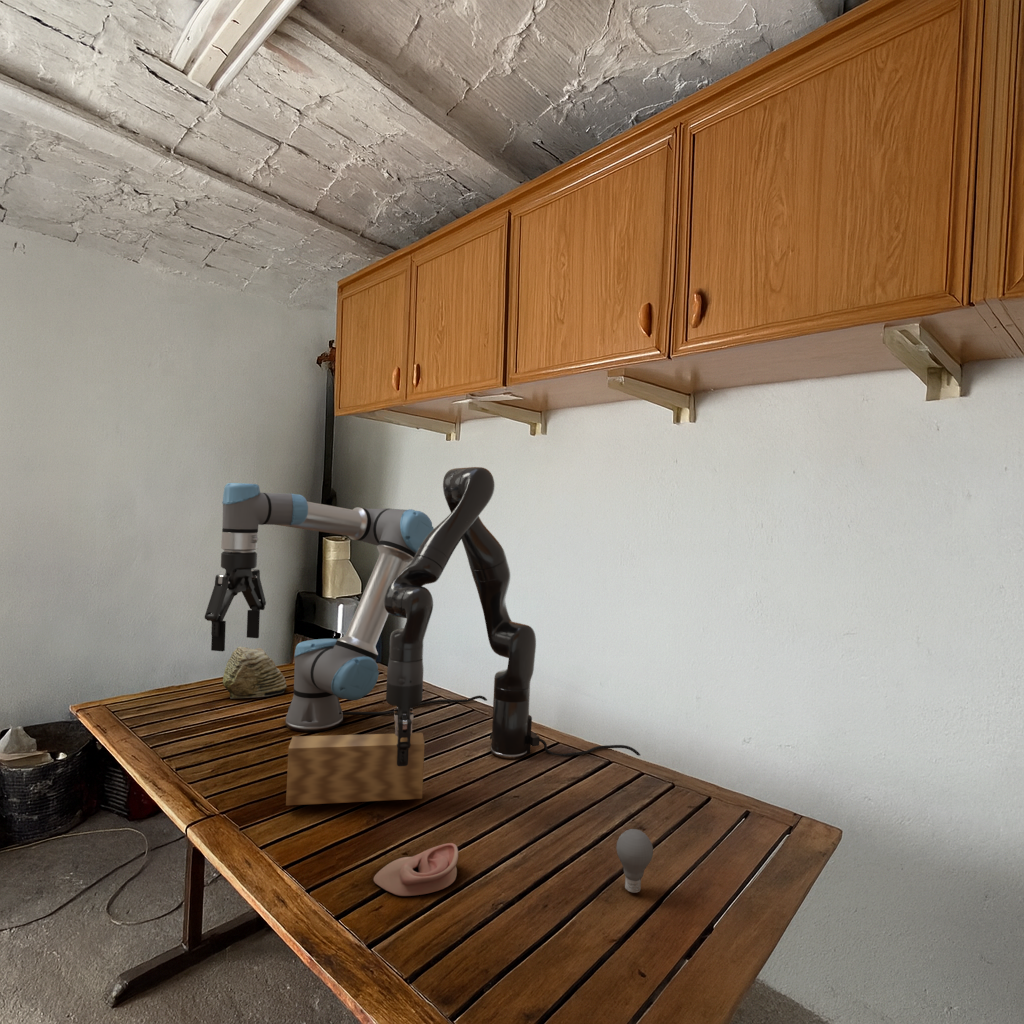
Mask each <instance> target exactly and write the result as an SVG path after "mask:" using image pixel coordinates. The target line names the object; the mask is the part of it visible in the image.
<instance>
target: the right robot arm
mask: <svg viewBox="0 0 1024 1024" xmlns="http://www.w3.org/2000/svg"><path fill="white" fill-rule="evenodd" d="M495 485H496V483H495V479H494V476H493V474H492V472H491V471H490V470H488V469H487V468H486V467H481V466H471V467H456V468H451V469H449V470H448V471H447V472H446V473H445V474H444V476H443V480H442V489H443V495H444V499H445V501H446V504H447V506H448V509H449V511H450V513H449V514H448V515H447V516H446V517H445V518H444V519H443V520H442V521H441V522H440V523H439V524H438V525H437V526H436V527H433V528H434V529H433V530H432V531H431V532H430V533H429V534H428V535H427V537H426V538H425V539H424V541H423V542H422V544H421V545H420V547H419V549H418V551H417V553H416V554H415V556H414V558H413V560H412V562H411V563H410V564H409V565H408V566H407V567H406V568H405V569H404V570H403V571H402V572H401V573H400V574H399V575H398V576H397V577H396V579H395V580H394V581H393V582H392V583H391V584H390V586H389V587H388V589H387V591H386V593H385V597H384V607H385V609H386V611H387V612H388V613H389V614H388V615H391V616H393V617H397V618H403V619H406V621H405V624H404V627H403V628H397V629H394V630H393V631H392V632H391V633H390V636H389V650H388V651H389V653H388V654H389V655H388V663H387V669H386V693H385V701H386V703H387V704H388V705H390V706H393V707H395V706H396V708H394V709H393V711H394V714H393V722H394V734H395V736H397V748H398V749H397V765H398V766H407V765H408V750H409V748H410V746H411V744H410V736H411V734H412V733H413V721H414V709H413V708H411V709H410V707H411V706H413V705H418V704H419V703H422V702H423V693H424V692H423V691H424V640H425V637H426V633H427V631H428V627H429V623H430V620H431V617H432V615H433V610H434V599H433V595H432V593H431V591H430V589H428V588H427V587H425V586H426V585H431V584H434V583H436V582H438V580H440V578H441V576H442V574H443V572H444V570H445V569H446V567H447V565H448V563H449V560H450V559H451V557H452V555H453V553H454V551H455V550H456V548H457V546H458V545H459V543H460V542H462V545H463V548H464V551H465V554H466V558H467V562H468V565H469V569H470V572H471V576H472V578H473V582H474V585H475V587H476V591H477V594H478V598H479V602H480V605H481V608H482V612H483V617H484V623H485V628H486V633H487V638H488V642H489V645H490V648H491V651H493V652H494V654H496V655H497V656H500V657H502V658H506V659H508V662H507V667H506V669H502V670H499V671H497V672H496V673H495V674H494V677H493V678H494V680H493V701H492V702H493V703H492V722H491V723H492V724H491V725H492V727H491V729H492V730H491V733H490V734H489V739H490V740H491V743H490V745H491V746H490V753H491V754H492V755H493V756H495V757H498V758H499V759H500V758H501V759H507V760H515V759H521V758H525V757H526V756H527V755H531V747H539V746H540V743H541V744H542V745H543V750H544V751H545V752H546V753H547V754H548V755H552V756H558V757H574V756H584V755H588V754H591V753H592V752H595V751H597V750H605V749H606V750H607V749H625V750H629V751H631V752H632V753H634V754H635V755H636V756H638V757H639V756H641V753H640V752H639V751H638V750H636V749H635V748H633V747H631V746H629V745H627V744H626V745H624V744H609V745H607V744H606V745H597V746H594V747H592V748H590V749H588V750H584V751H576V752H568V753H556V752H553V751H550V750H549V749H548V745H547V742H546V741H545V740H544V739H542V738H541V737H540V736H539V735H537V733H535V732H533V731H532V727H533V725H532V724H533V717H532V715H530V699H531V698H530V695H531V680H532V678H533V675H534V671H535V661H536V653H537V652H536V651H537V637H536V633H535V630H534V629H533V627H532V626H530V625H528V624H524V623H521V622H516V621H512V619H511V617H510V614H509V611H508V607H507V603H506V598H507V594H508V590H509V588H510V583H511V570H510V566H509V562H508V559H507V555H506V552H505V549H504V547H503V545H502V544H501V543H500V541H499V540H498V539H497V538H496V537H495V536H494V535H493V533H492V532H491V531H490V530H489V529H488V528H487V526H486V525H485V524H484V522H483V521H482V519H481V518H480V515H481V513H482V512H483V511H485V508H486V507H487V506H488V504H489V503H490V502H491V500H492V499H493V495H494V492H495V487H496V486H495ZM401 738H407V742H400V740H401Z"/></svg>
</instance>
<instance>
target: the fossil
mask: <svg viewBox="0 0 1024 1024" xmlns="http://www.w3.org/2000/svg"><path fill="white" fill-rule="evenodd" d="M222 676H223V677H222V685H223V687H224V688H225V690H226V691H228V693H229V698H230V699H250V698H264V697H271V696H275V695H281V694H284V693H285V691H286V689H287V687H288V686H287V680H286V678H285V676H284V674H283V673H282V672H281V669H279V668H278V667H277V665H276V663H275V662H274V660H273V659H272V658H271V657H270V656H269V655H268V654H267V653H266V652H265V650H264V649H263V648H260V647H258V648H251V647H247V646H246V647H245V646H238V647H237V648H236V649H235V650H233V651H232V653H231V656H230V657H229V659H228V660H227V663H226V666H225V668H224V671H223V675H222Z"/></svg>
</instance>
